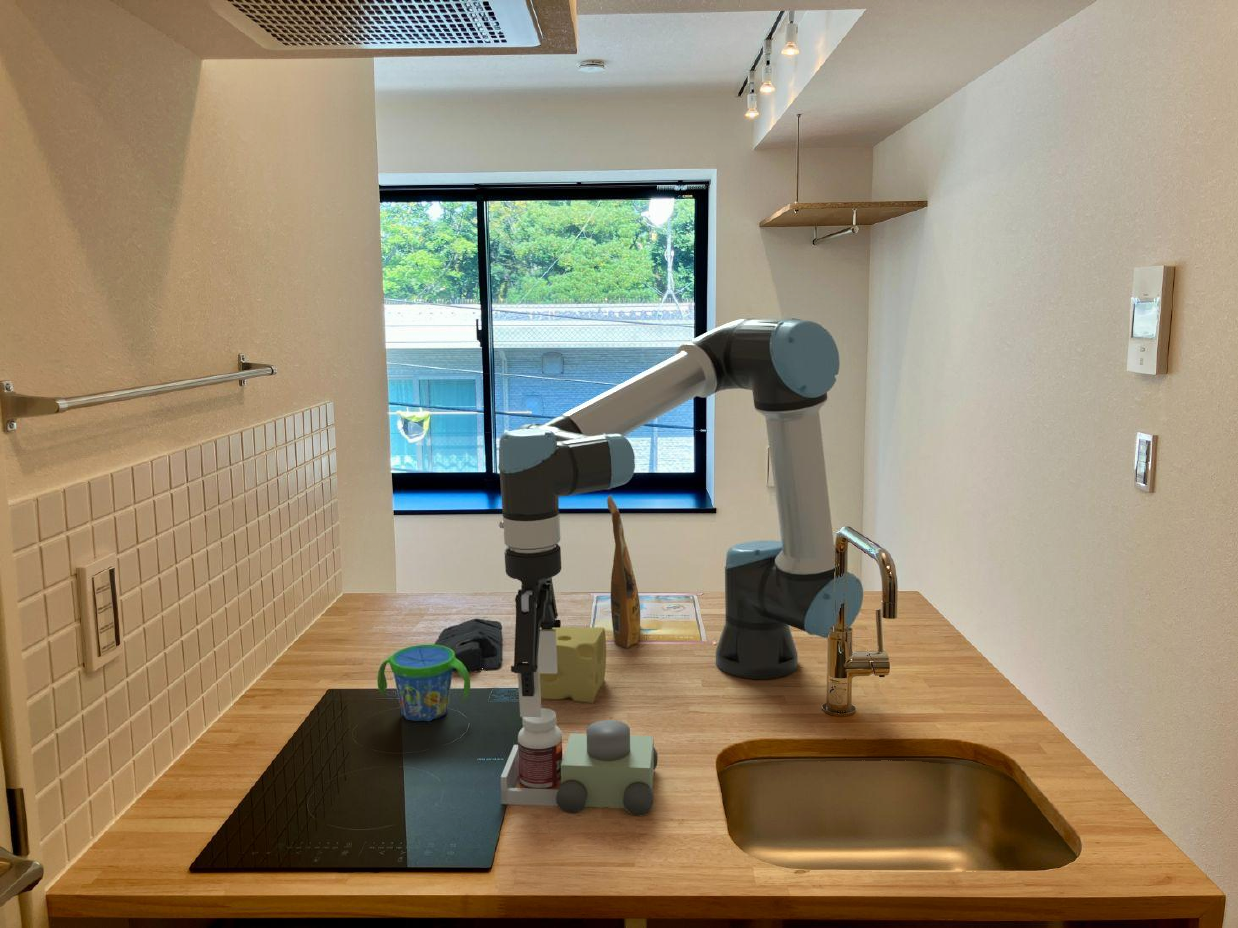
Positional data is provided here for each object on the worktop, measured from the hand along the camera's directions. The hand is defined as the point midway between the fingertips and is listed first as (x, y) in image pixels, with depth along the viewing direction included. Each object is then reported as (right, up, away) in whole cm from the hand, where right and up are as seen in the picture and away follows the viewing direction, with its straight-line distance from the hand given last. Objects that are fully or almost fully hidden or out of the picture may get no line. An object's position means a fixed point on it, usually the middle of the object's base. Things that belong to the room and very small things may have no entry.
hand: (539, 693), depth 127 cm
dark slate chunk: (-19, -5, +53) cm, 57 cm away
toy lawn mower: (+6, -14, +2) cm, 15 cm away
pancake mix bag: (+12, -3, +60) cm, 62 cm away
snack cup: (-21, -10, +26) cm, 35 cm away
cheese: (+3, -8, +35) cm, 36 cm away
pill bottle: (0, -14, +2) cm, 14 cm away
